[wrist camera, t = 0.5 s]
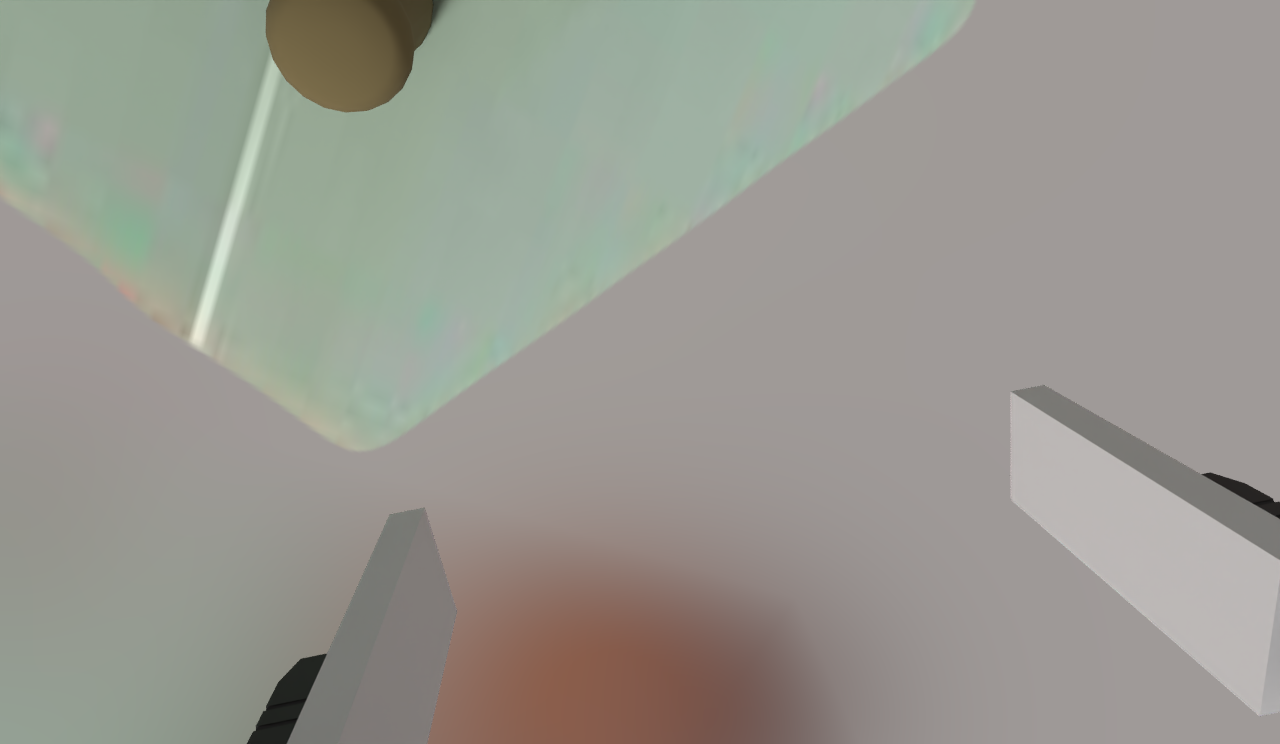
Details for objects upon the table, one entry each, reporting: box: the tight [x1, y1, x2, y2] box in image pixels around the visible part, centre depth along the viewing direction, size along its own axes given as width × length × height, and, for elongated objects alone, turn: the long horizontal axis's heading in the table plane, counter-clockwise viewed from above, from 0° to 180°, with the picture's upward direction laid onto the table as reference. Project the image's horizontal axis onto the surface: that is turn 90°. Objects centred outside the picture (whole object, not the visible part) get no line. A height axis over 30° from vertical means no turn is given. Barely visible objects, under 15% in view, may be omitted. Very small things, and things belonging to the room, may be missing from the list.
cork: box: [266, 0, 433, 112], centre depth 31 cm, size 6×6×11 cm
